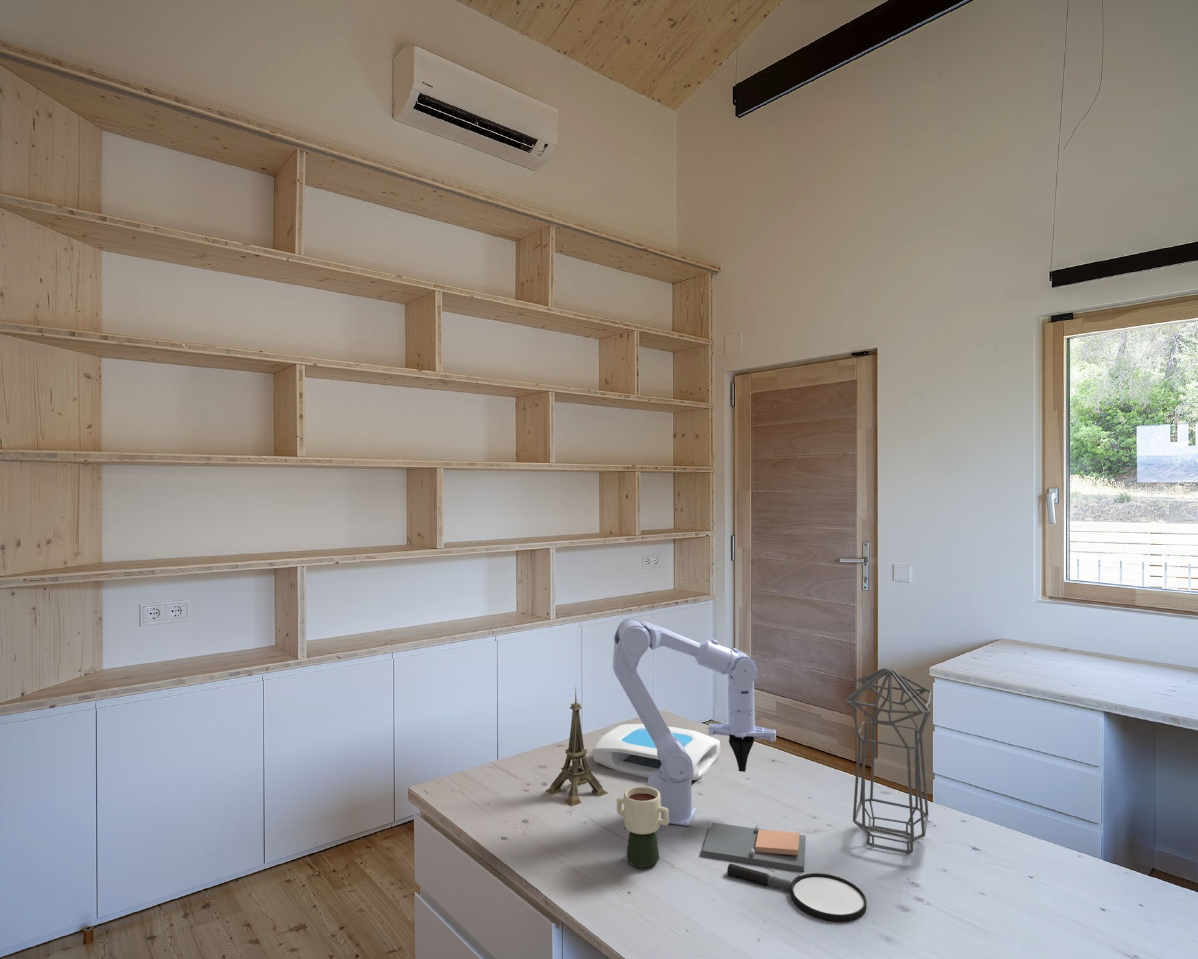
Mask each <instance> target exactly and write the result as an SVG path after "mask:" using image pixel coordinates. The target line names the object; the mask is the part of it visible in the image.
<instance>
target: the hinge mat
mask: <svg viewBox="0 0 1198 959" xmlns="http://www.w3.org/2000/svg"><path fill="white" fill-rule="evenodd" d="M759 830H764V829H762V828H760V825H755V828H754V827H747V826H740V825H733V824H727V823H719V822H711V824H710V828H709V830H708V833H707V836H706V839H705V842H704V843H703V847H702V850H701V852H702V854H701V855H702V857H707V858H714V859H715V858H716V859H720V860H721V859H722V860H726V861H727V860H728V861H733V862H734V861H735V862H739V863H746V864H750V865H751V864H752V865H758V866H759V865H760V866H764V867H770V868H771V867H772V868H777V869H784V870H789V871H796V872H802V873H804V872H805V871H804V870H805V858H806V855H805V854H806V842H807V841H806V839H807V838H806V835H803V834H800V844H799V855H789V854H776V853H763V852H756V848H755V846H756V841H757V836H758V831H759Z"/></svg>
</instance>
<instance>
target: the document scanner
mask: <svg viewBox="0 0 1198 959" xmlns="http://www.w3.org/2000/svg"><path fill="white" fill-rule="evenodd" d="M667 726H668V725H667ZM668 727H669V729H670V731H671V733H672V734H673V736H674V737H675V738H677V739H678V740H680V741H681V742H682V744H683V745H684V749H685V750H686V752H687V754H688V755H689V756H690V758H691V760H692V763H693V769H692V772H691V781H697V780H701V779H702V778H703V777H704V776H705V775H706V774H707V773H708V771H710V769H711V768H712V767H713V766H714V765H715V764H716V762H717V760H718V758H719V756H720V755H721V740H719V739H717V738H715V737H712V736H711V735H706V734H704V733H702V732H699V731H697V730H692V729H687V728H686V729H685V728H680V727H675V726H668ZM592 751H593V753H592V758H593V761H594V762H596V763H598V764H601V765H602V766H604V767H606V768H609V769H610V770H613V771H616V772H622V773H626V774H632V775H635V776H641V777H644V778H649V775H650V773H651V772H658V771H659V769H660V768H656V767H653V766H652V767H651V766H647V765H640V764H637V763H632V762H628V761H625V759H627V758H628V757H629V756H631V755H633V756H638V757H643V758H649V759H654V760H659V758H658V755H657V748H656V746H655V744H654V742H653V740H652V739H651V737H650V735H649V733H648V731H647V730H646V728H645V726H644V724H643V723H630V724H625V723H624V724H620V725H617V726H616V727H614V728H613V729H611V730H610V731H608V732H607V733H605V734H604V735H602V736H601V737H600V738H599V739H598V740H597V742H596V744H595V745H594V746H593V748H592ZM659 761H660V760H659ZM714 763H715V764H714ZM713 764H714V765H713ZM712 765H713V766H712ZM709 768H710V769H709ZM704 774H705V775H704ZM702 776H703V777H702Z"/></svg>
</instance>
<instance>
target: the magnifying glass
mask: <svg viewBox="0 0 1198 959" xmlns="http://www.w3.org/2000/svg"><path fill="white" fill-rule="evenodd" d="M726 870H727V871H726V874H727V877H731V878H734V879H737V880H741V881H745V882H749V883H752V884H756V885H758V886H759V885H760V886H762V887H768V888H773V889H777V890H782V892H787V893H790V899H791V901H792V903H793V905H795V907H796V908H797V909H799V911H801V912H802V913H804V914H806V915H808V917H812V918H815V919H817V920H820V921H825V922H829V923H839V924H840V923H841V924H842V923H851V922H854V921H857V920H859V919H861V918H862V917H863V916H864V915H866V911H867V898H866V895H865V894H864V892H863V891H862V890H861V889H860V888H859V887H858V886H857V885H855V884H854V883H853V882H851V881H848V880H847V879H844V878H841V877H839V876H837V875H832V874H827V873H821V872H820V873H818V872H814V873H805V874H801V875H797V876H796V877H794V878H793V879H792V881H791V880H787V879H786V878H785V879H784V878H780V877H777V876H773V875H772V874H771V875H770V874H769V873H765V872H763V871H760V870H756V869H751V868H748V867H745V866H740V865H738V864H734V863H729V864H728V866H727V869H726Z"/></svg>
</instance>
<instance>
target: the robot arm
mask: <svg viewBox="0 0 1198 959" xmlns="http://www.w3.org/2000/svg"><path fill="white" fill-rule="evenodd" d="M661 647H665V648H668V649H671V650H675V651H677V652H680V653H683V654H685V655H688V656H692V657H694V658H695V661H696V663H697V665H699V666H701V667H704V668H706V669H709V670H712V671H714V672H717V673H719V674H721V675H727V676H728V687H727V689H728V690H727V700H728V704H727V705H728V709H727V710H728V723H709V725H708V736H714V735H718V736H727V737H729V738H728V743H729V746H730V747H731V750H732V751H733V754H734V757H735V759H736V765H737V767H738V769H737V770H738V772H741V773H743V772H744V773H746V771H747V764H748V758H749V754H750V751H751V749H752V747H753V745H754V743H755V739H758V740H766V741H770V742H776V740H777V735H776V734H777V733H776V732H777V730H776V729H771V728H770V729H769V728H765V727H761V726H757V725H756V722H755V721H756V720H755V718H756V712H755V711H756V708H755V707H756V706H755V701H756V700H755V680H756V679H757V676H758V674H759V669H757V665H756V662H755V661H754V660H753V659H752V658H751V657H749V655H747V654H746V653H744V652H742V651H741V650H739V649H738V648H734V647H732V649H731V648H730V647H729V648H728V647H726V646H724V645H721V644H719V641H718V640H716V639H714V638H711V640H708V639H705V640H702V641H699V642H697V641H696V640H693V639H691V638H688V637H686V636H683V635H681V634H679V633H676V632H675V631H672V630H670V629H667V628H665V627H662V626H660V625H657V624H654V623H651V622H647V621H644V620H642V622H641V620H639V619H636V618H634V617H632V618H631V617H629V618H626V619H624V620H622V621H621V622H620V623H619V625H618V627H617V629H616V630H615V634H614V636H613V656H612V670H613V672H614V674H615V677H616V678H617V679H618V682H619V683H620V686H621V687H622V688H623V691H624V692H625V694H626V696H627V698H628V699H629V701H630V703H631V705H632V707H633V708H634V710H635V712H636V713H637V715H638V717H639V719H640V721H641V722H642V723H641V724H644V726H645V728H646V730H647V731H648V733H649V735H650V737H651V739H652V740H653V742H654V744H655V746H656V748H657V755H658V758H659V761H660V763H661V765H660V766H659V768H658V769H659V771H658V772H651V773H650V775H649V777H648V779H647V786H648V787H652V788H655V789H657V790H658V791H659V793H660V796H661V807H665V808H667V809H668V811H669V824H673V825H679V826H685V827H686V826H687V827H690V826H691V824H692V822H693V819H694V817H695V814H696V812H697V808H696V807H693V806H692V805H693V804H692V800H693V799H692V780H691V772H692V769H693V763H692V760H691V758H690V756H689V755H688V754H687V752H686V750H685V749H684V745H683V744H682V742H681V741H680V740H678V739H677V738H675V737H674V736H673V734H672V733H671V731H670V729H669V727H670V726H669V727H668V724H667V722H666V721H665V719H664V717H663V715H662V713H661V712H660V710H659V708H658V706H657V704H656V703H655V700H654V699H653V698H652V695H651V693H650V692H649V690H648V689H647V686H646V684H645V683H644V681H643V679H642V678H641V676H640V674H639V673H638V671H637V670H638V669H637V668H638V666H639V663H640V660H641V658H642V657H643V656H644V654H645V653H646V652H647V651H648V649H649V648H650V649H651V650H652V651H653V650H656V649H658V648H661ZM661 819H663V820H664V813H663V812H661Z"/></svg>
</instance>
